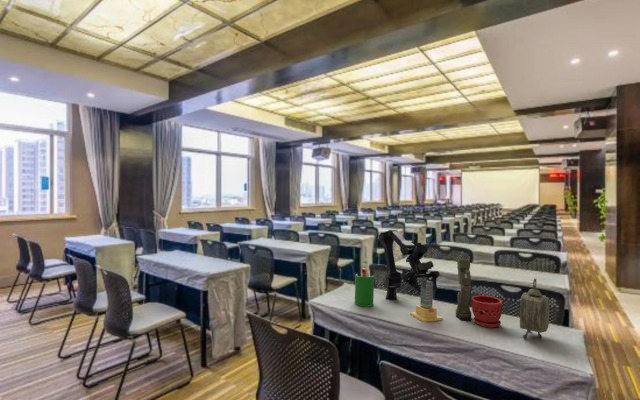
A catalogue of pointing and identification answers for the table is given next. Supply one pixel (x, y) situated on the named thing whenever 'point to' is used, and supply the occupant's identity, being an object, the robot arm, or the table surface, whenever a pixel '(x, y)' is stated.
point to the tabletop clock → (534, 311)
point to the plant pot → (487, 310)
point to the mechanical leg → (464, 290)
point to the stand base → (426, 314)
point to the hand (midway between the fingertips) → (428, 291)
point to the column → (426, 293)
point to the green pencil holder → (364, 289)
